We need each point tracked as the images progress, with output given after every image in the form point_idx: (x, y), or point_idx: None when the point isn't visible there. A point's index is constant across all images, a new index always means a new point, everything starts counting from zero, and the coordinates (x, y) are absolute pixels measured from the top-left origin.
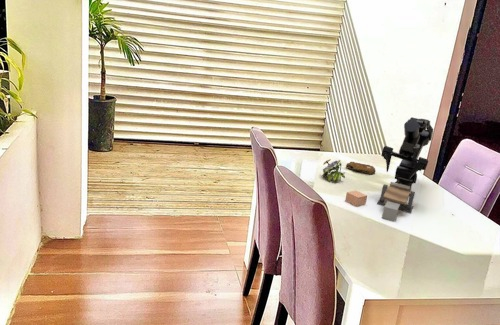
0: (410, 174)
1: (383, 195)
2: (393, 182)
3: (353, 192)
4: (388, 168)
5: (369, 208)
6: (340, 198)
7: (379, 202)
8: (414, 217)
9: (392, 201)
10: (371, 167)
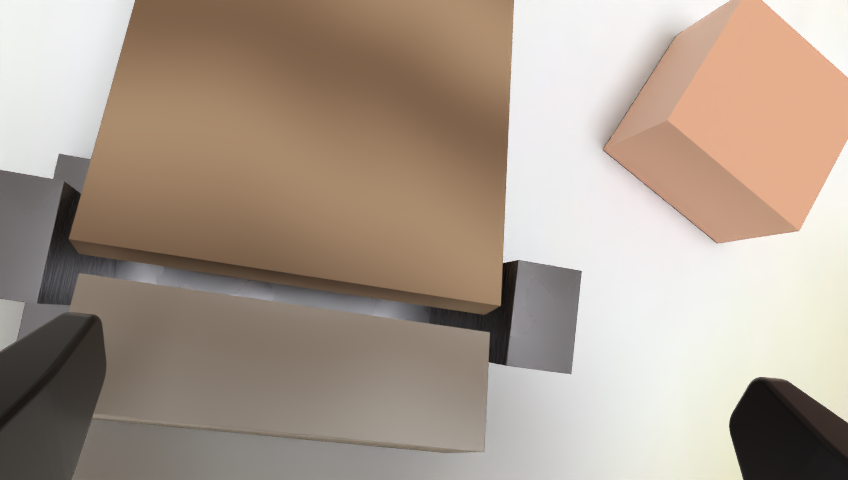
0: (22, 394)
1: None
2: (434, 439)
3: (812, 132)
4: (811, 420)
5: (555, 55)
6: (826, 179)
7: None
8: (30, 40)
9: None
10: None
